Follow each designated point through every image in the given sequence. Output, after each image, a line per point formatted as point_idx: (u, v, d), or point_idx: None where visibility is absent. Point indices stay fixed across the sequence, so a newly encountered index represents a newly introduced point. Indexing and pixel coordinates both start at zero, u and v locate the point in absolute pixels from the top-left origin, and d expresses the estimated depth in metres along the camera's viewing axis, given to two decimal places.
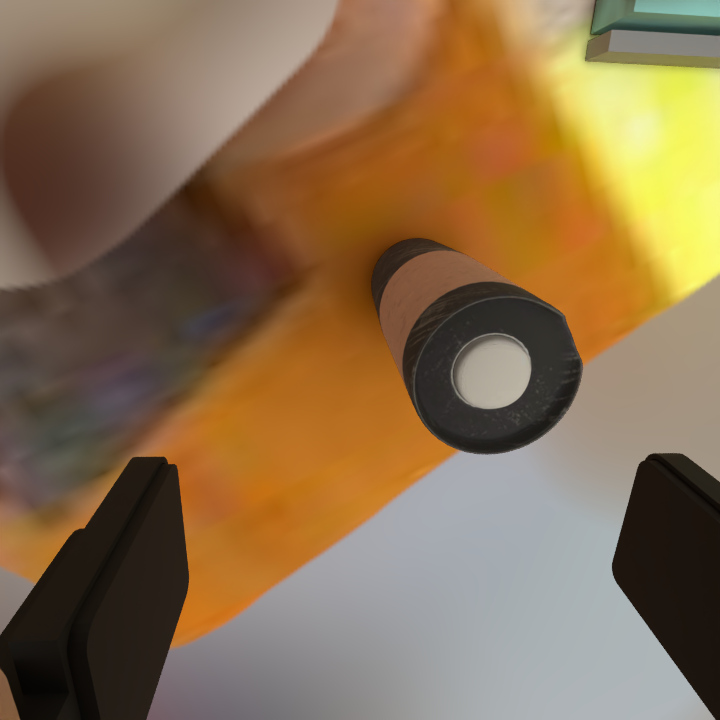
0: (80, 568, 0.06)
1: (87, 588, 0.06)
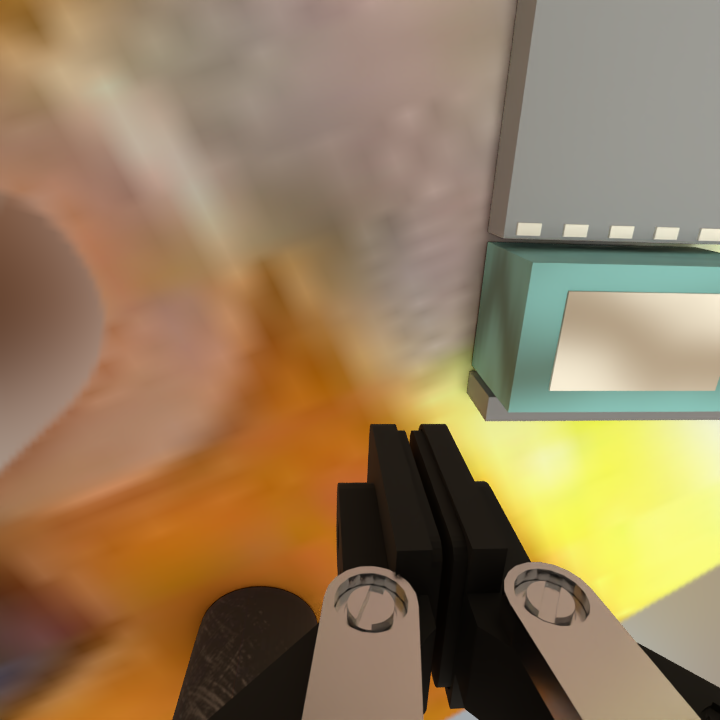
0: (405, 503, 0.08)
1: (423, 516, 0.07)
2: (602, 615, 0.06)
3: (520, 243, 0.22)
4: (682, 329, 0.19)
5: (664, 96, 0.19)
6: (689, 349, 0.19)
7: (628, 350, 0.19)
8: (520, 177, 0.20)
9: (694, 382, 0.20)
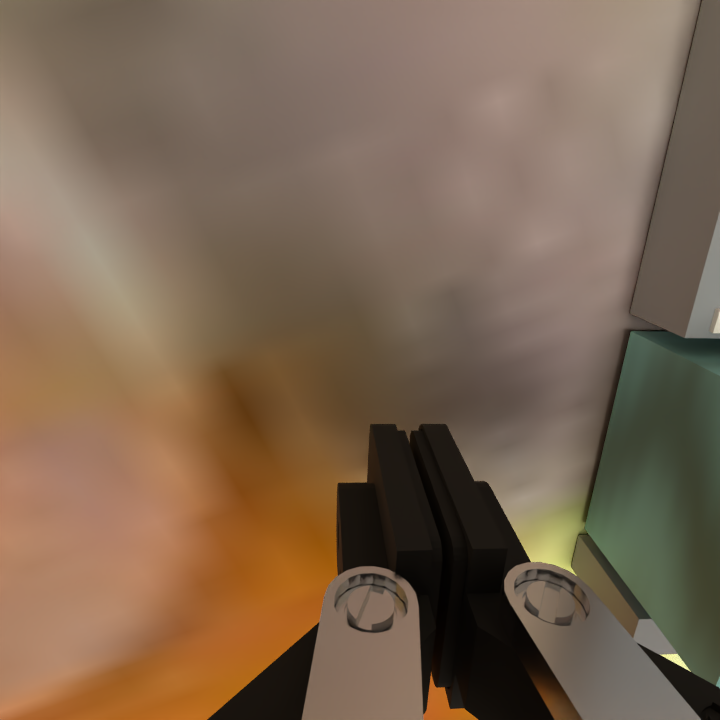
0: (405, 503, 0.08)
1: (422, 516, 0.07)
2: (602, 615, 0.06)
3: None
4: None
5: None
6: None
7: None
8: None
9: None
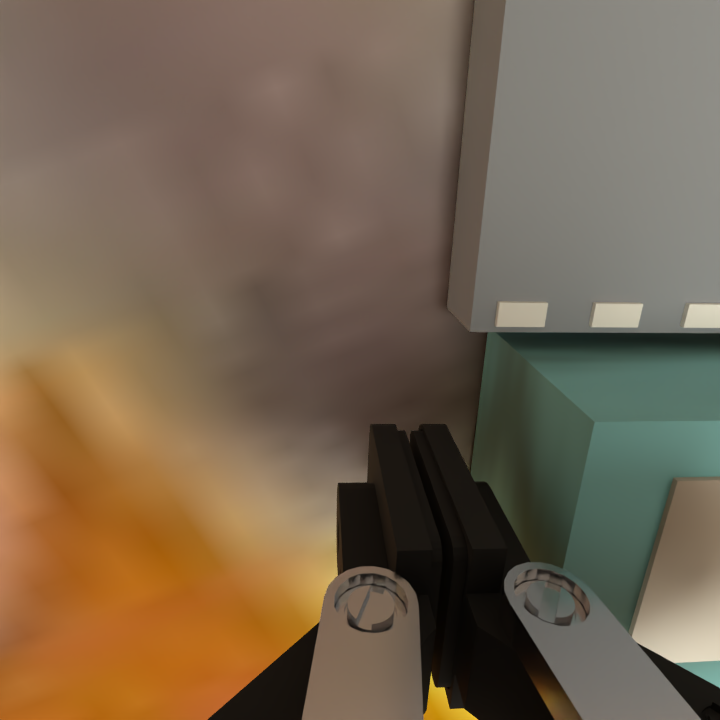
0: (405, 503, 0.08)
1: (422, 516, 0.07)
2: (602, 615, 0.06)
3: None
4: None
5: None
6: None
7: None
8: (501, 211, 0.09)
9: None
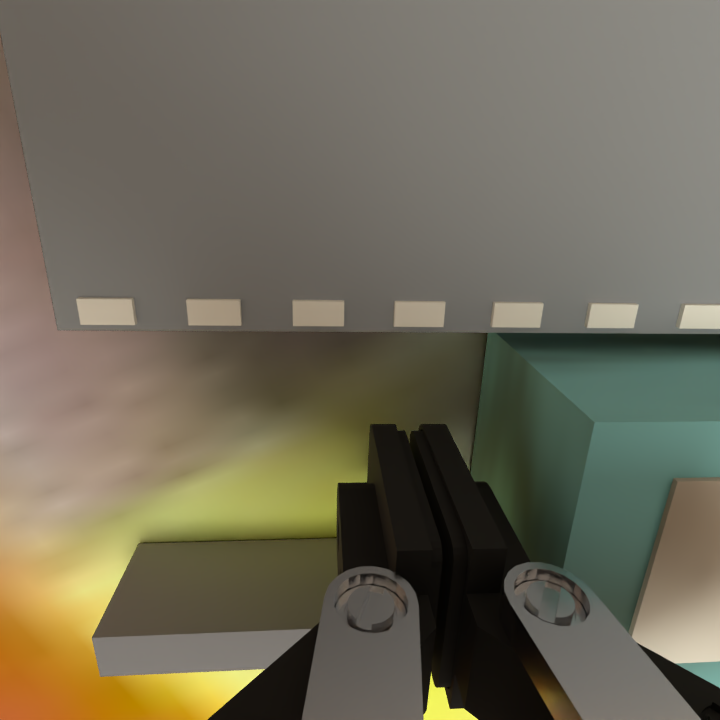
0: (405, 503, 0.08)
1: (422, 516, 0.07)
2: (602, 615, 0.06)
3: None
4: None
5: (351, 9, 0.08)
6: None
7: None
8: (53, 201, 0.09)
9: None
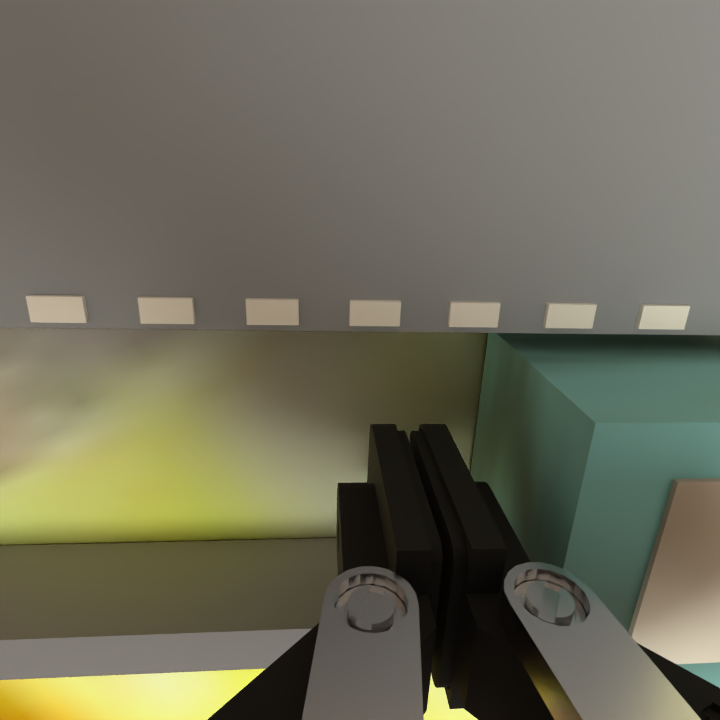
0: (405, 503, 0.08)
1: (423, 516, 0.07)
2: (602, 615, 0.06)
3: None
4: None
5: None
6: None
7: None
8: None
9: None
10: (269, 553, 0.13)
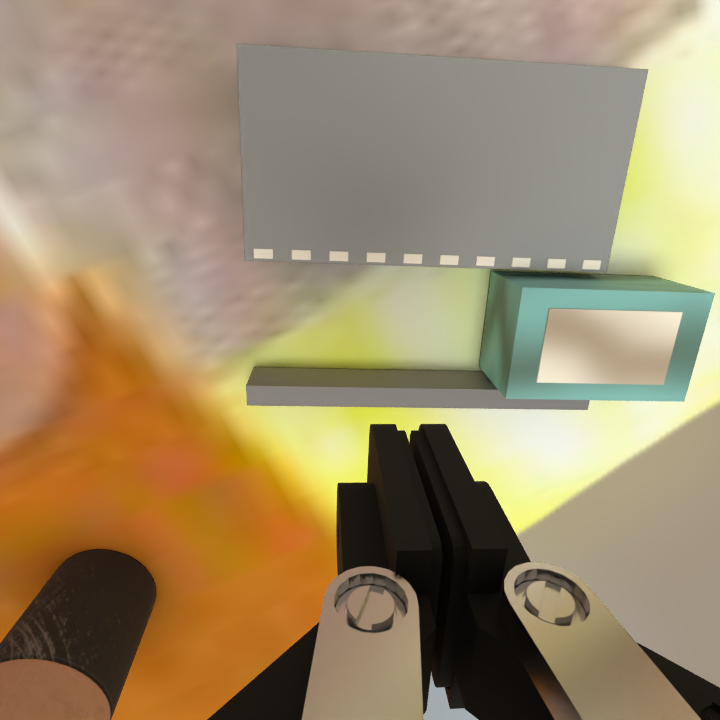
0: (405, 502, 0.08)
1: (422, 516, 0.07)
2: (602, 615, 0.06)
3: (516, 272, 0.29)
4: (635, 337, 0.26)
5: (352, 154, 0.25)
6: (642, 353, 0.26)
7: (595, 353, 0.26)
8: (249, 214, 0.26)
9: (647, 378, 0.26)
10: (393, 372, 0.30)
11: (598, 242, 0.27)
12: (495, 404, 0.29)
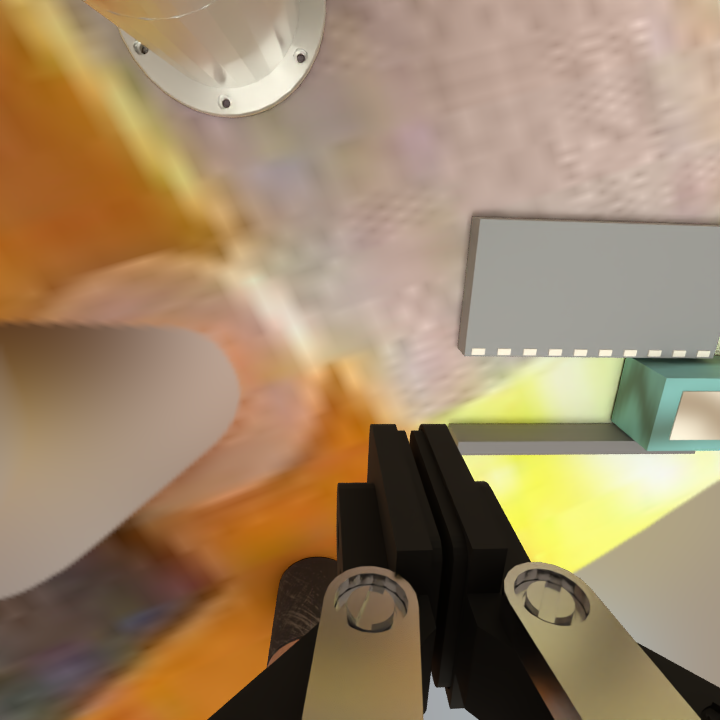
0: (405, 503, 0.08)
1: (422, 516, 0.07)
2: (602, 615, 0.06)
3: None
4: None
5: (547, 285, 0.36)
6: None
7: (711, 419, 0.37)
8: (472, 325, 0.37)
9: None
10: (550, 426, 0.42)
11: (709, 338, 0.38)
12: (630, 451, 0.40)
